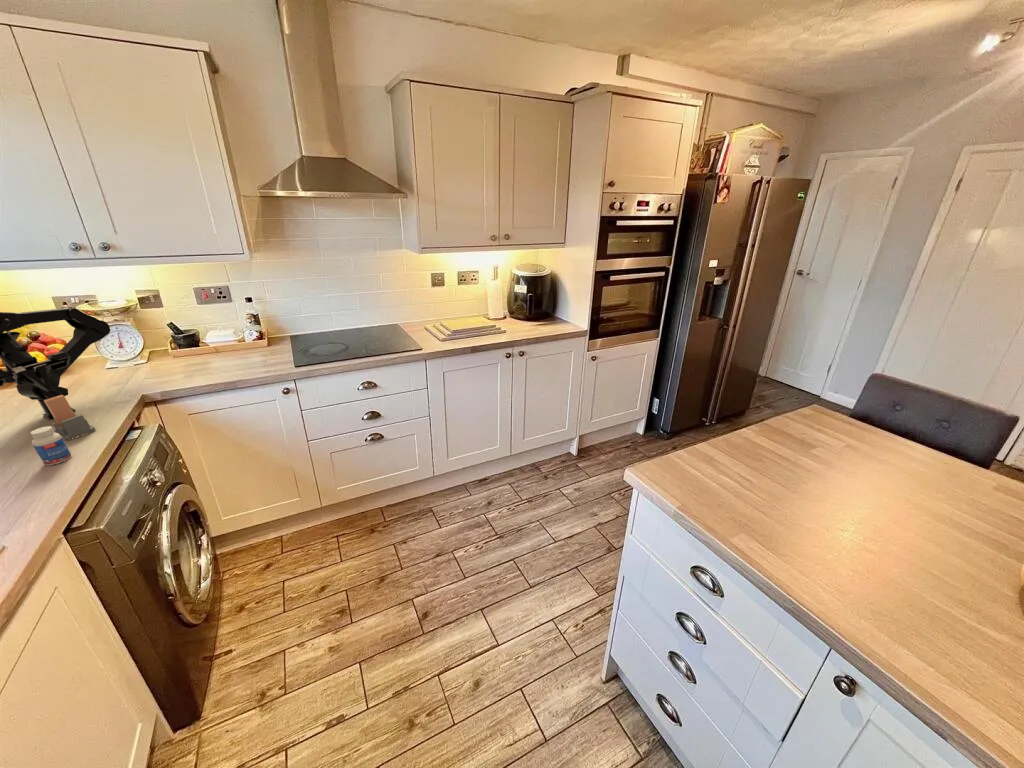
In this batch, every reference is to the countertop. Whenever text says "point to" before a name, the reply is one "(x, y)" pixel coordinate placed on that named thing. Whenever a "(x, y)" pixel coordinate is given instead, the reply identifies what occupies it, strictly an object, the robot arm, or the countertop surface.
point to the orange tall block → (59, 409)
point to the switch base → (73, 427)
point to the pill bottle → (50, 446)
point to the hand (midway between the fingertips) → (49, 390)
